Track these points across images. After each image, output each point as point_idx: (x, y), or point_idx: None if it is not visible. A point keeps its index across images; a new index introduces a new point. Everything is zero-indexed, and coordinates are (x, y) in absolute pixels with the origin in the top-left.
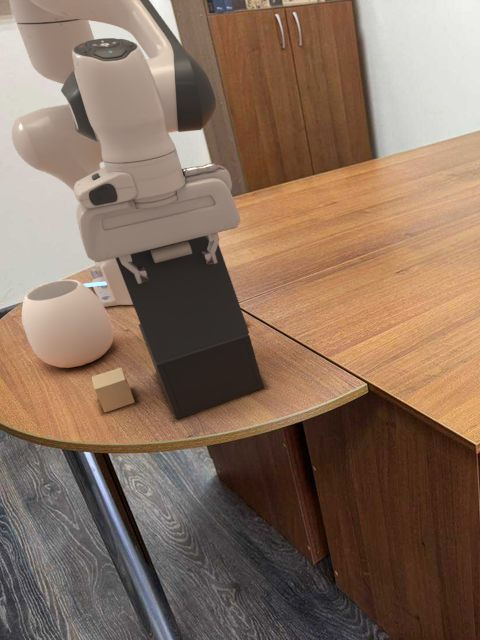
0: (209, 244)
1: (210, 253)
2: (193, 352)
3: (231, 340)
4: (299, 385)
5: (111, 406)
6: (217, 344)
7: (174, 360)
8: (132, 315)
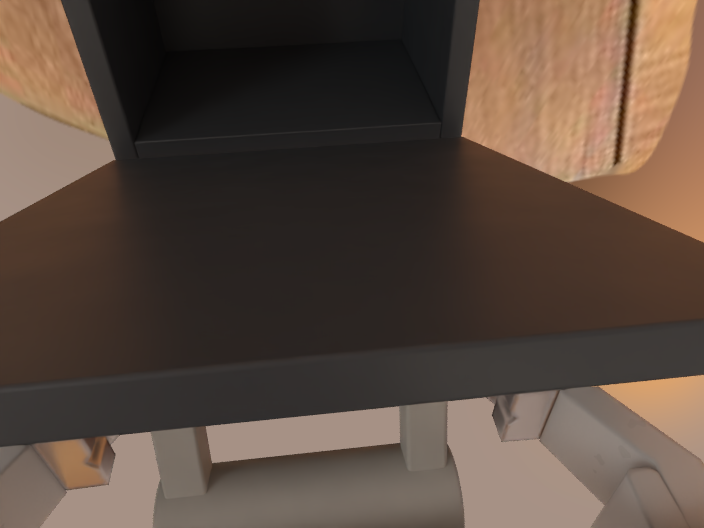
0: (595, 439)
1: (540, 437)
2: (253, 146)
3: (395, 138)
4: (495, 92)
5: None
6: (343, 138)
7: None
8: None
